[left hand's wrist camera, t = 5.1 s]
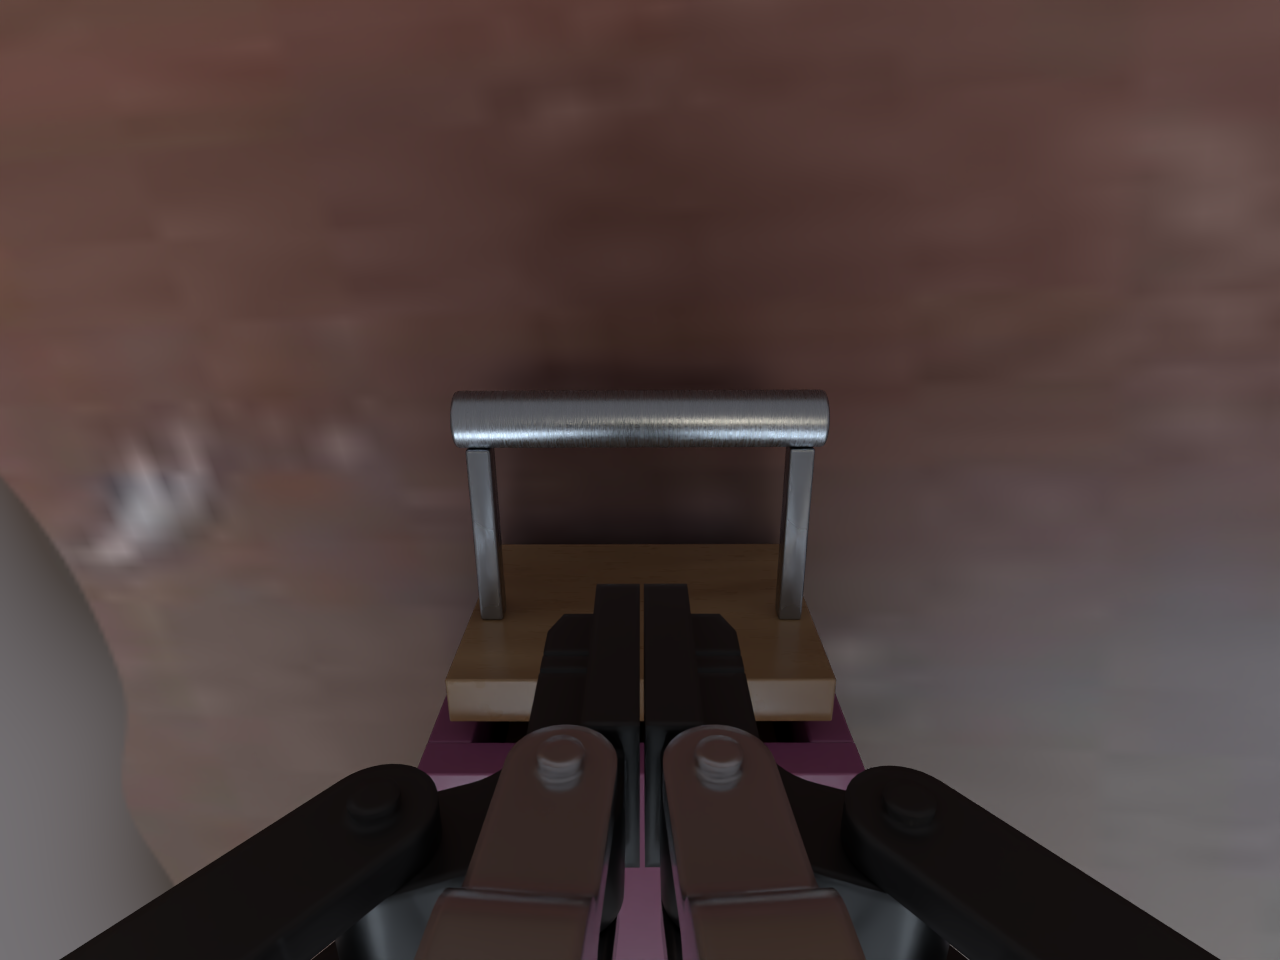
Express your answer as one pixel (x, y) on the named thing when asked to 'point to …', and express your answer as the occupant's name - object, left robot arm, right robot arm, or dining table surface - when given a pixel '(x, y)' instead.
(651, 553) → the drawer
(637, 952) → the purple rectangular box
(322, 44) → the dining table surface
